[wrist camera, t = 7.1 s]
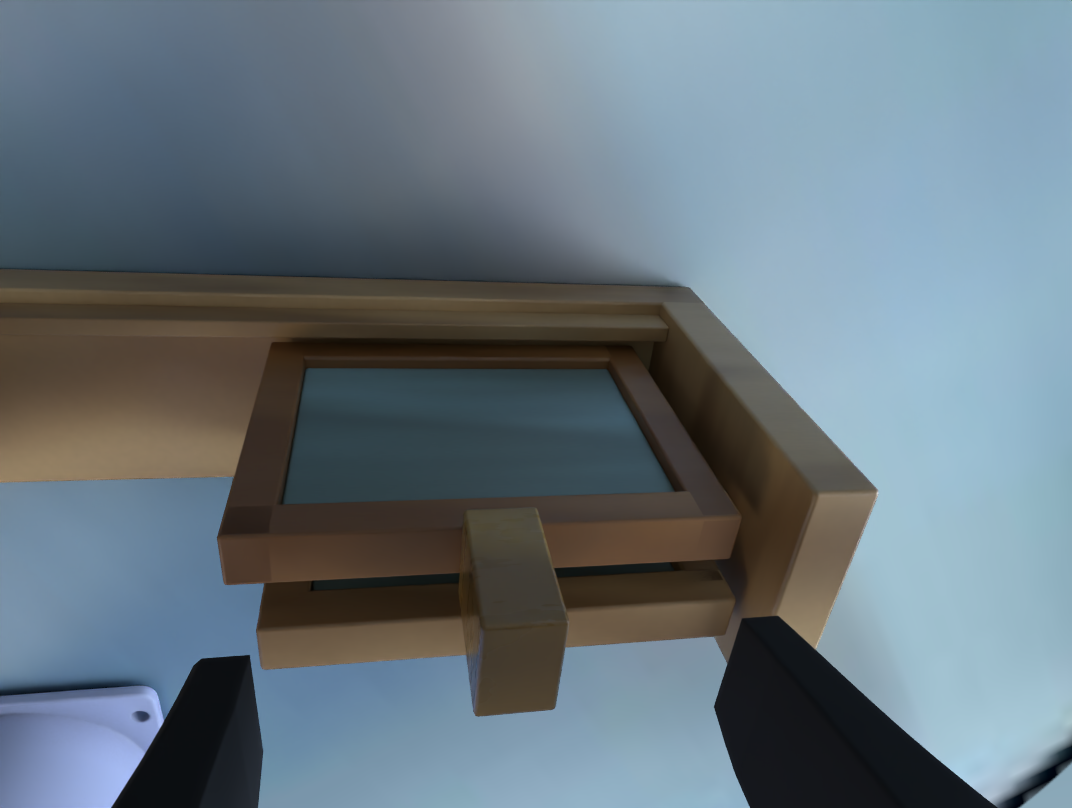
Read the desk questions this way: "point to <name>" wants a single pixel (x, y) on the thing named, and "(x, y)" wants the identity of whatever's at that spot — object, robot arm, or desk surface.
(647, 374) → the sash
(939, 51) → the desk surface
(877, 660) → the desk surface
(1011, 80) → the desk surface
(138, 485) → the desk surface
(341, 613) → the window frame
